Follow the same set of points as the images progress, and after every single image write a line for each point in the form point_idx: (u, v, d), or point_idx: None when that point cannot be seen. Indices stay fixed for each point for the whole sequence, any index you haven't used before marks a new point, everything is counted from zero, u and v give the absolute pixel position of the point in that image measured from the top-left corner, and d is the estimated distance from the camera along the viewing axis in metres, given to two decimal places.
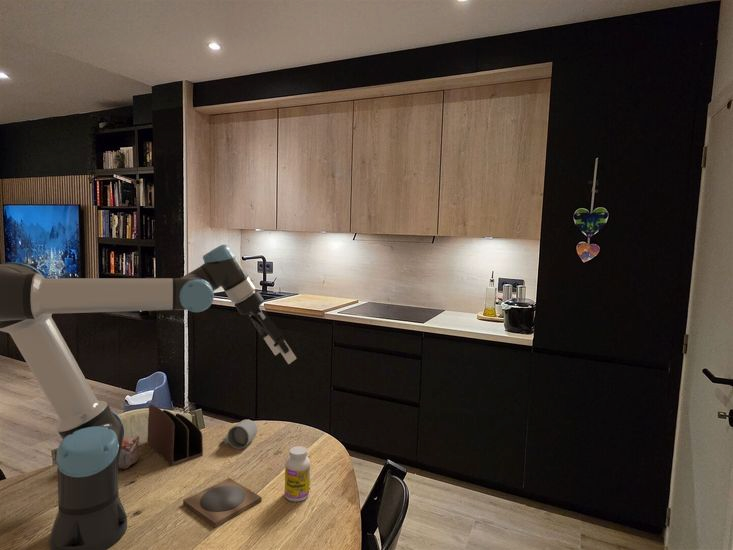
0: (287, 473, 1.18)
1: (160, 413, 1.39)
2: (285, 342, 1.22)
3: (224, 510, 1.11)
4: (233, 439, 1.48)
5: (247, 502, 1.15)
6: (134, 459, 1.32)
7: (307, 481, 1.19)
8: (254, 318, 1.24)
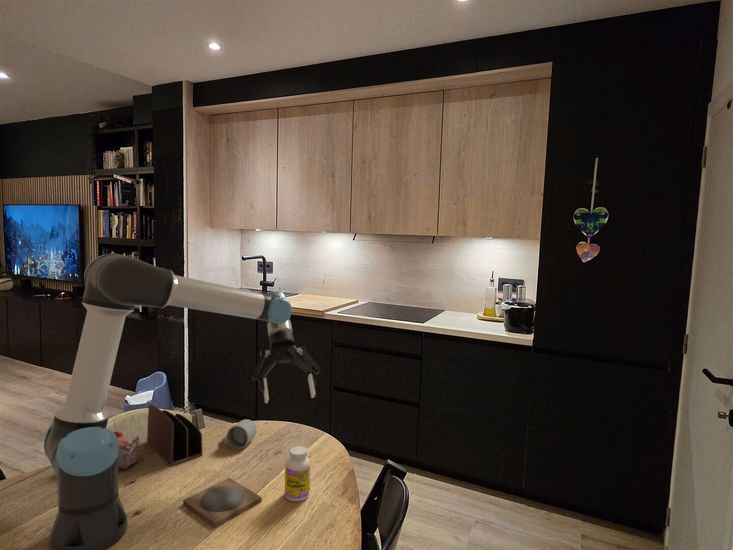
0: (287, 473, 1.18)
1: (160, 413, 1.39)
2: None
3: (224, 510, 1.11)
4: (232, 439, 1.48)
5: (247, 502, 1.15)
6: (134, 459, 1.32)
7: (307, 481, 1.19)
8: None
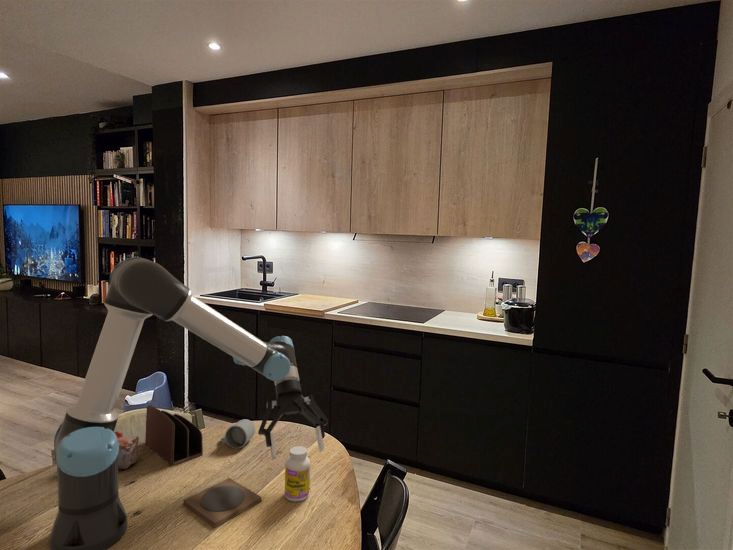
0: (287, 473, 1.18)
1: (159, 414, 1.39)
2: None
3: (224, 510, 1.11)
4: (231, 439, 1.48)
5: (247, 502, 1.15)
6: (134, 459, 1.32)
7: (307, 481, 1.19)
8: None
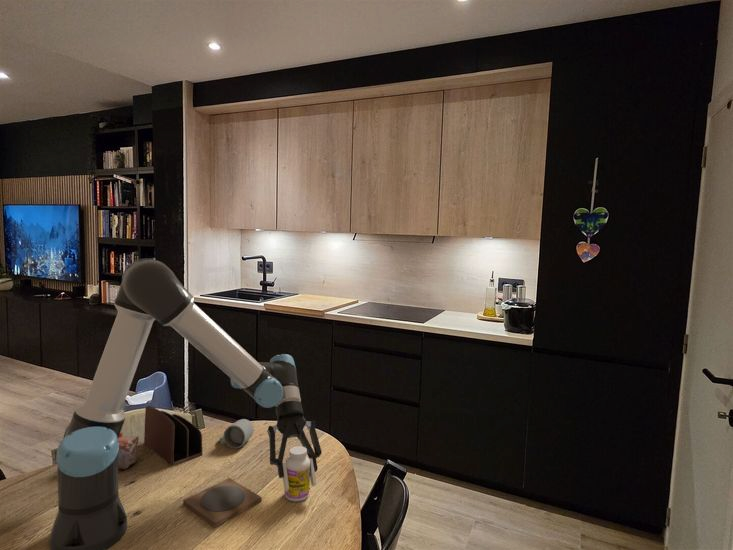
0: (287, 473, 1.18)
1: (158, 414, 1.39)
2: None
3: (224, 510, 1.11)
4: (229, 438, 1.49)
5: (247, 502, 1.15)
6: (134, 459, 1.32)
7: (307, 481, 1.19)
8: None
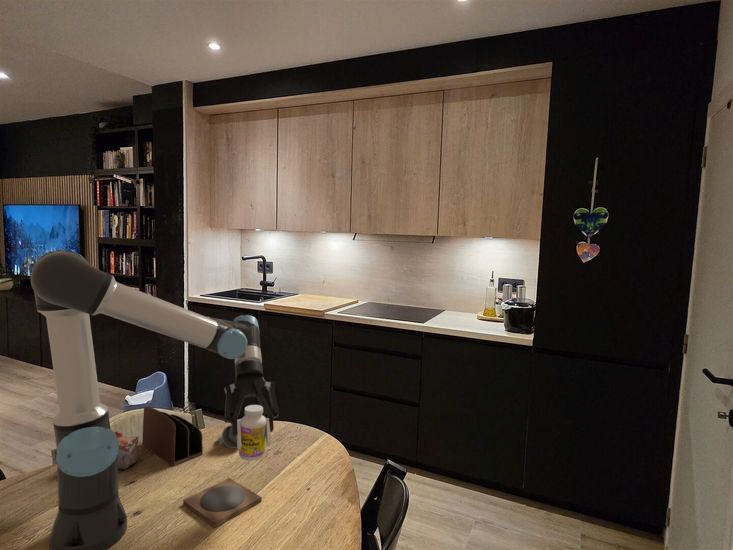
0: (241, 431, 1.15)
1: (158, 414, 1.38)
2: None
3: (224, 510, 1.11)
4: (228, 438, 1.49)
5: (247, 502, 1.15)
6: (133, 459, 1.32)
7: (262, 440, 1.16)
8: (257, 383, 1.23)
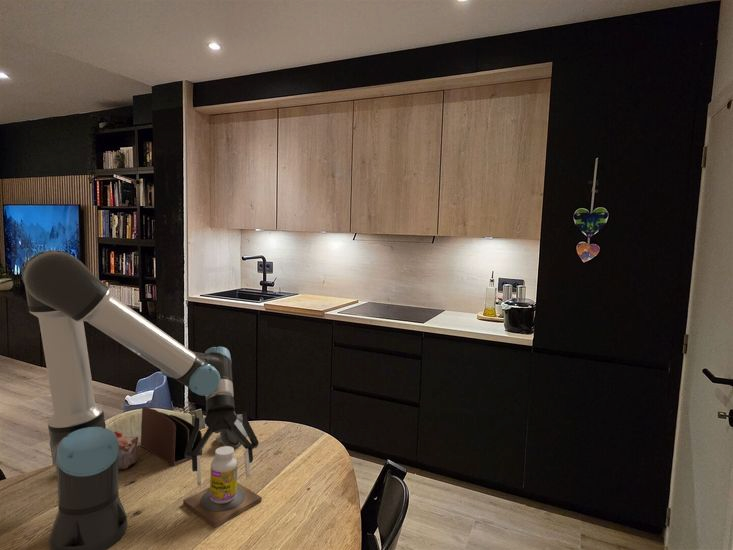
0: (211, 474, 1.14)
1: (157, 414, 1.38)
2: None
3: (224, 510, 1.11)
4: (226, 438, 1.49)
5: (247, 502, 1.15)
6: (133, 459, 1.32)
7: (233, 483, 1.15)
8: (228, 417, 1.22)
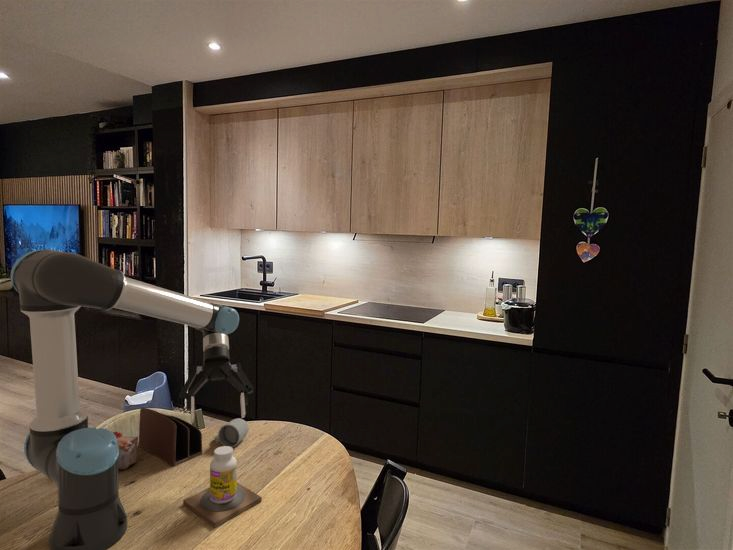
0: (211, 474, 1.14)
1: (157, 415, 1.38)
2: None
3: (224, 510, 1.11)
4: (224, 438, 1.49)
5: (247, 502, 1.15)
6: (133, 459, 1.32)
7: (232, 482, 1.14)
8: None
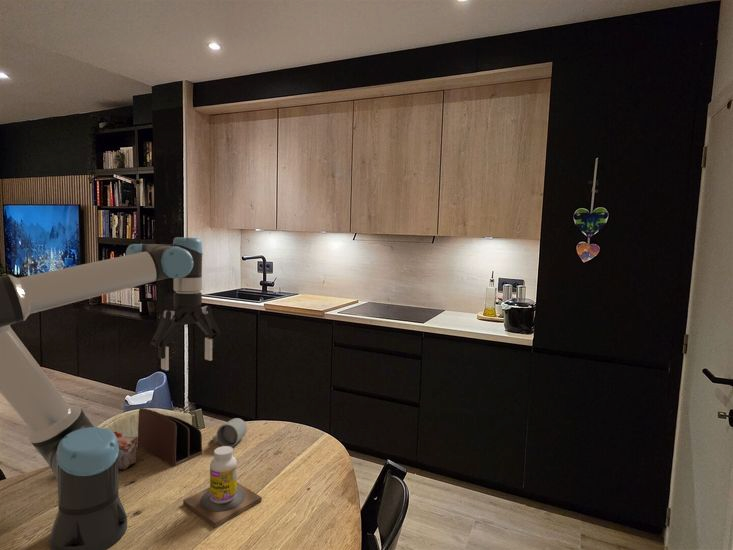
0: (211, 474, 1.14)
1: (156, 415, 1.37)
2: None
3: (224, 510, 1.11)
4: (223, 438, 1.49)
5: (247, 502, 1.15)
6: (133, 460, 1.31)
7: (232, 482, 1.14)
8: (196, 313, 1.28)
